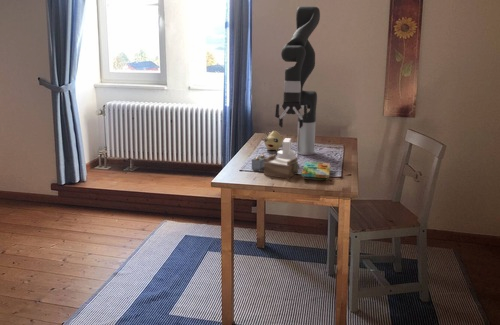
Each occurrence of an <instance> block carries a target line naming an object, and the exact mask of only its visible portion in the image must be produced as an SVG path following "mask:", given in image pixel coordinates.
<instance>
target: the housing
mask: <svg viewBox="0 0 500 325" xmlns="http://www.w3.org/2000/svg"><path fill="white" fill-rule="evenodd" d="M267 157H268V156H265V154H260V155H258V156H256V157H254V158H252V159H251V170H252V169H254V170H255V171H259V170H260V171H262V170H264V163H265V158H267Z"/></svg>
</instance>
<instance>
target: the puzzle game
mask: <svg viewBox="0 0 500 325" xmlns="http://www.w3.org/2000/svg"><path fill="white" fill-rule="evenodd" d="M330 173H331V163H330V162H318V161H317V162H315V161H305V163H304V166H303V169H302V172H301V177H303V178H304V179H305V180H315V181H317V180H318V181H327V180H328V179H330Z"/></svg>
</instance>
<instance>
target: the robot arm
mask: <svg viewBox="0 0 500 325" xmlns="http://www.w3.org/2000/svg"><path fill="white" fill-rule="evenodd" d="M320 19H321V11H320V8H319V7H318V6H307V5H305V6H298V7H297V9H296V13H295V21H296V22H295V23H296V24H295V25H296V30H295V31H294V33H293V35H292V37H291V39H290V40H289V41H288V42H287V43H286V44H285V45H284V46H283V47H282V49H281V53H280V54H281V59H282V60H283V61H284V62H287V63H295V65H294V66H289V67H287V68H285V70H284V84H283V102H282V103H281V104H279V103H277V104H276V106H275V115H274V116H275V118H277V119H278V125H279V127H280V128H283V127H284V126H283V125H284V119H283V118H284V117H285V116H286V114H287V115H297V116H298V117H297V139H296V140H297V142H296V154H298V155H302V156H310V155H311V156H312V155H314V154H315V145H316V144H315V141H316V140H315V139H316V117H317V105H318V104H317V103H318V94H317V91H315V90H303V88H304V85H305V83H306V81H307V79H308V78H309V76H310V75H311V74H312V72H313V71H314V69H315V66H316V52H315V50H314V47H313V46H312V44H311V42H310V41H309V38H310V36H311V35H312V34H313V33H314V31H315V29H316V28H317V27H318V26H319V23H320ZM281 108H282V109H283V110H284V111H283V112H281V114H280V109H281ZM300 109H302V110H303V113H301V112H300ZM308 109H309V110H308Z"/></svg>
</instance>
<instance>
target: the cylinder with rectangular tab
mask: <svg viewBox="0 0 500 325" xmlns="http://www.w3.org/2000/svg"><path fill="white" fill-rule="evenodd" d="M291 145H292V138H291V137H290V138H289V137H288V138H287V137H285V138H283V143H282V150H278V151H276V154H277V156H276V158H282V159H289V160H291V159H293V158H295V157H297V156H296V154H297V151H295V150H292V146H291Z"/></svg>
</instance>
